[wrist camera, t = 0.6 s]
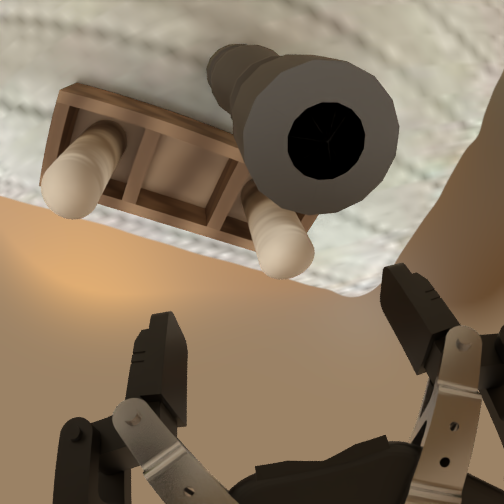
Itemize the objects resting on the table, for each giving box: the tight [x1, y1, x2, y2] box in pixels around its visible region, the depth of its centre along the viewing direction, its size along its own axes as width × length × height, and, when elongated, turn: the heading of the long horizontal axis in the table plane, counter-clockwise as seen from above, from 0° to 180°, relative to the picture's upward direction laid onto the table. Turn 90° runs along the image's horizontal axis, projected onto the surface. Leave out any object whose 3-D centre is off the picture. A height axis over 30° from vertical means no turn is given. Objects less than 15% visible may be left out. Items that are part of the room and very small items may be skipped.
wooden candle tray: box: [39, 83, 319, 279], centre depth 30 cm, size 30×10×13 cm, turn 63°
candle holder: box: [207, 44, 399, 215], centre depth 20 cm, size 6×6×25 cm
